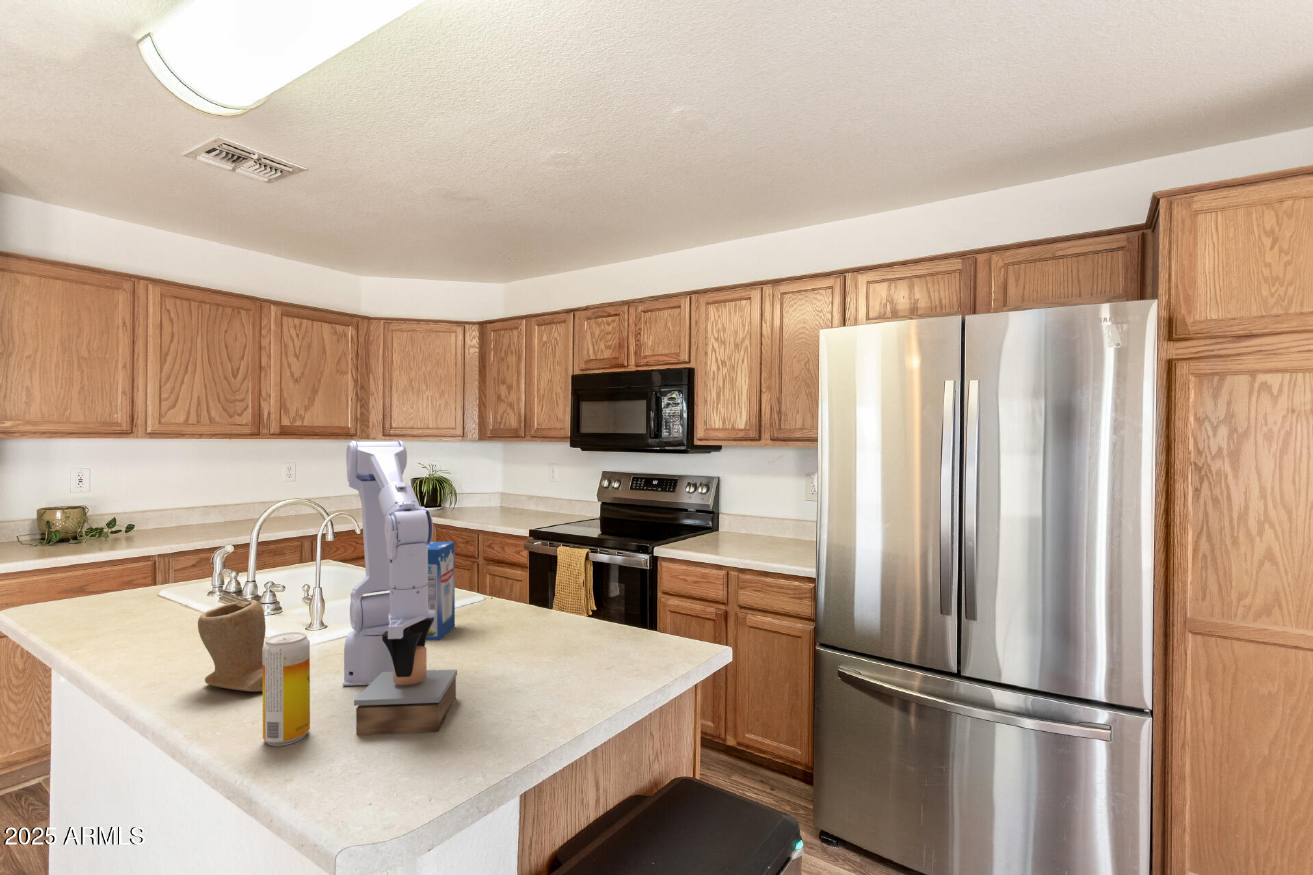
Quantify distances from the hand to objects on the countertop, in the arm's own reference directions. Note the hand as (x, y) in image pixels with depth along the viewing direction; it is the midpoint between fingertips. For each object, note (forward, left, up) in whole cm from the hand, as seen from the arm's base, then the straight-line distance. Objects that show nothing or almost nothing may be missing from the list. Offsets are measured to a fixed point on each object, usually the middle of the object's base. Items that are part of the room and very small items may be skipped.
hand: (409, 669), depth 102 cm
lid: (0, 0, -3) cm, 3 cm away
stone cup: (-33, +15, -8) cm, 37 cm away
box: (0, 0, -7) cm, 7 cm away
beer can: (-16, -6, -8) cm, 19 cm away
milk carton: (-7, +43, -8) cm, 44 cm away
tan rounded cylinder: (0, 0, -2) cm, 2 cm away
